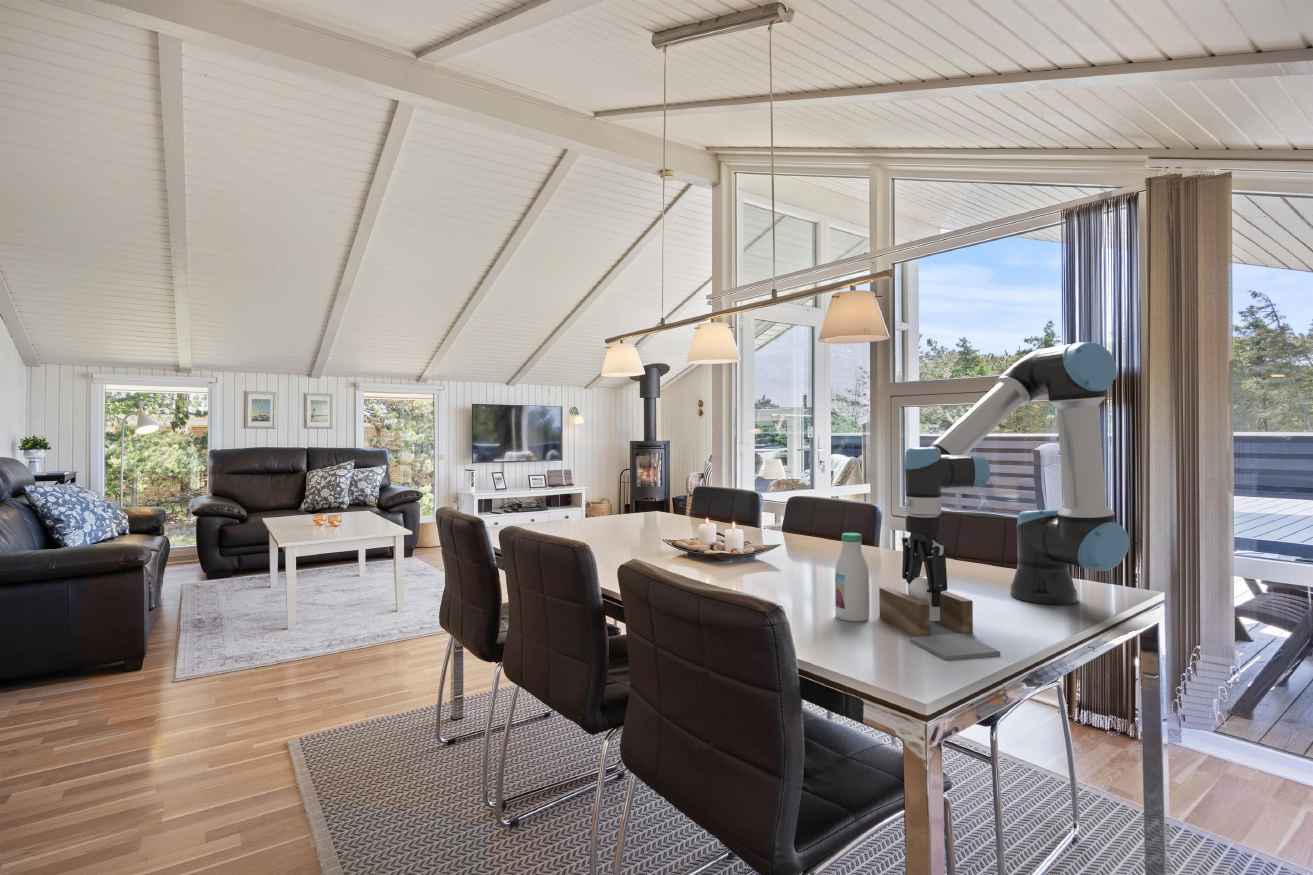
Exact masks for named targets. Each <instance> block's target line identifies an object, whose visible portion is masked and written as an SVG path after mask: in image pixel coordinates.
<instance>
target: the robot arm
mask: <svg viewBox="0 0 1313 875" xmlns="http://www.w3.org/2000/svg"><path fill="white" fill-rule="evenodd" d="M1117 373H1118V372H1117V363H1116V360H1115V359H1114V356H1113V354H1112V353H1111V352H1110V351H1109V350H1108V349H1106V347H1105V346H1103V345H1101V344H1099V343H1097V342H1092V341H1086V342H1085V341H1084V342H1083V341H1082V342H1074V343H1070V344H1064V345H1057V346H1052V347H1044V348H1039V349H1037V350H1035V351H1031V352H1030V353H1028V354H1027V355H1025V356H1023V357H1022V358H1021V359H1019V360H1018V361H1017V362H1015V363H1013V365H1011V366H1010V367H1009V368H1007V370H1005V371H1004V372H1003V373H1002V374H1001V375H1000V376H999V377H997V379H996V380H995V381H994V385H995V386H994V387H993V388H991V389H990V390H989V391H987V393H986V394H985V395H984V396H983V397H982V398H980V399H979V401H977V402H976V403H975V404H974V405H973V406H972V407H971V408H970V409H968V411H966V412H965V413H964V414H963V415H962V416H961V417H960V418H959V419H957V420H956V421H955V422H954V423H953V424H952V425H951V426H950V427H949V428H947V430H946V431H944V432H943V433H942V434H941V435H940V436H939V437H938V438H937V439H935V441H934V442H932V443H931V444H930V445H929V446H928V447H923V446H922V447H909V448H907V449H906V450H905V457H904V463H903V472H904V479H905V480H904V483H905V484H904V485H905V486H904V488H905V489H904V490H905V513H906V514H907V515H906V516H905V531H906V532H907V533H910V535H909V537H908V536H907V537H902V539H901V542H902V570H901V578H902V579H903V580H906V583H907V584H908V587H907V588H908V592H907V595H909V596H910V593H909V586H910V583H911V582H912V580H913V579H915V578H916V577H919V576H921V571H922V566H924V569H925V570H924V571H925V574H926V577H927V580H928V585H929V590H926V591H927V603H929V613H930V622H936V621H940V593H941V592H942V591H947V592H948V576H947V574H948V573H947V560H946V559H947V558H946V557H947V550H948V548H947V546H946V545H942V544H941V545H940V543H939V540H938V538H937V536H938V534H940V533H941V532H942V518H941V517H940V516H939V515H941V514H942V489H959V488H960V489H964V488H965V489H967V488H969V489H973V488H978V487H979V488H980V487H983V486H985V485H987V483H988V482H989V480H990V477H991V466H990V464H989V463H990V462H988V460H987V459H986V458H985V457H984V456H982V455H979V454H978V455H975V454H968V453H969V452H970V451H972V449H974V448H975V447H976V446H977V445H979V443H980V442H981V441H982V440H983V439H985V438H986V437H987V436H988V435H989V434H990V433H991V432H993V430H995V428H997V427H998V426H999V425H1000V424H1001V423H1002V422H1003V421H1005V419H1007V418H1008V417H1009V416H1010V415H1012V413H1013V412H1014V411H1015V410H1017V409H1018V408H1019V407H1024V406H1027V405H1028V404H1030V402H1031V401H1032V400H1034V399H1036V398H1039V397H1041V396H1044V395H1048V397H1047V398H1048V403H1050V404H1051V405H1052V406H1053V407H1054V408H1055V409H1056V416H1057V417H1056V418H1057V429H1058V430H1057V431H1058V444H1059V458H1060V472H1061V474H1060V475H1061V486H1062V500H1063V506H1062V507H1060V509H1042V510H1040V509H1039V510H1024V511H1020V512H1019V513H1018V515H1017V520H1016V522H1017V524H1016V542H1017V544H1016V546H1017V567H1016V570H1015V573H1014V577H1013V579H1012V580H1013V581H1012V582H1011V584H1010V592H1009V593H1010V596H1011V597H1013V598H1016V599H1018V600H1020V601H1021V600H1022V601H1023V602H1024V601H1025V602H1030V603H1035V604H1041V605H1042V604H1043V605H1044V604H1045V605H1072V604H1075V603H1077V602H1078V591H1077V589H1076V588H1075V585H1074V584H1075V583H1074V581H1073V577H1072V575H1071V573H1070V565H1072V566H1076V567H1079V568H1083V569H1085V570H1088V571H1089V570H1090V571H1091V570H1095V571H1101V572H1104V571H1110V570H1112V569H1114V568H1116V567H1117V566H1119V565H1120V564H1121V562H1122V561H1123V560H1124V559H1125V557H1126V556H1127V553H1128V551H1129V545H1130V538H1129V535H1128V532H1127V530H1126V529H1124V527H1123V526H1122V525H1120V524H1118V522H1116V520H1115V518H1116V517H1115V512H1114V510H1112V508H1109V506H1107V501H1106V499H1107V498H1106V488H1105V487H1106V485H1105V476H1104V474H1105V473H1104V460H1103V448H1102V447H1103V446H1102V435H1101V434H1102V433H1101V431H1102V430H1101V422H1100V421H1101V420H1100V404H1101V403H1102V402H1103V401H1104V400H1106V398H1107V394H1106V390H1107V389H1108V388H1110V387H1111V386H1112V385H1113V383H1114V380H1116V377H1117ZM923 564H924V565H923Z"/></svg>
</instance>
